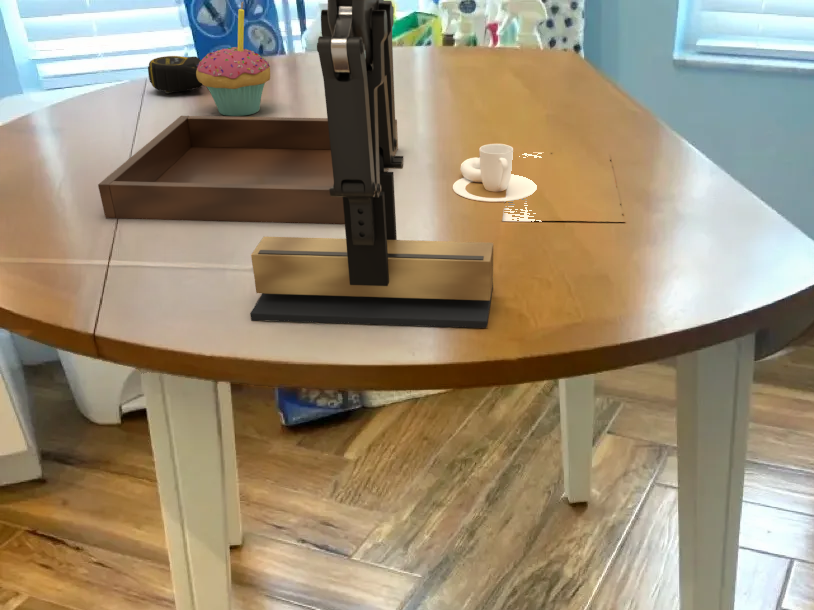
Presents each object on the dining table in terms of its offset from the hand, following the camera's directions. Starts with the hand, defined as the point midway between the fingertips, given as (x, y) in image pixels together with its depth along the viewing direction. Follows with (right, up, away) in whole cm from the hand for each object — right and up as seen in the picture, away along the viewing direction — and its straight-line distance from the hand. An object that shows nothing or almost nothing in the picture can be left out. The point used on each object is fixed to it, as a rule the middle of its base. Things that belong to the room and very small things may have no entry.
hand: (374, 270), depth 70 cm
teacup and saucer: (+11, +13, +23) cm, 29 cm away
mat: (0, -2, +2) cm, 3 cm away
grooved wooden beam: (0, -1, +1) cm, 1 cm away
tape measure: (-30, +34, +55) cm, 71 cm away
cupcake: (-20, +28, +46) cm, 57 cm away
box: (-13, +13, +24) cm, 30 cm away
